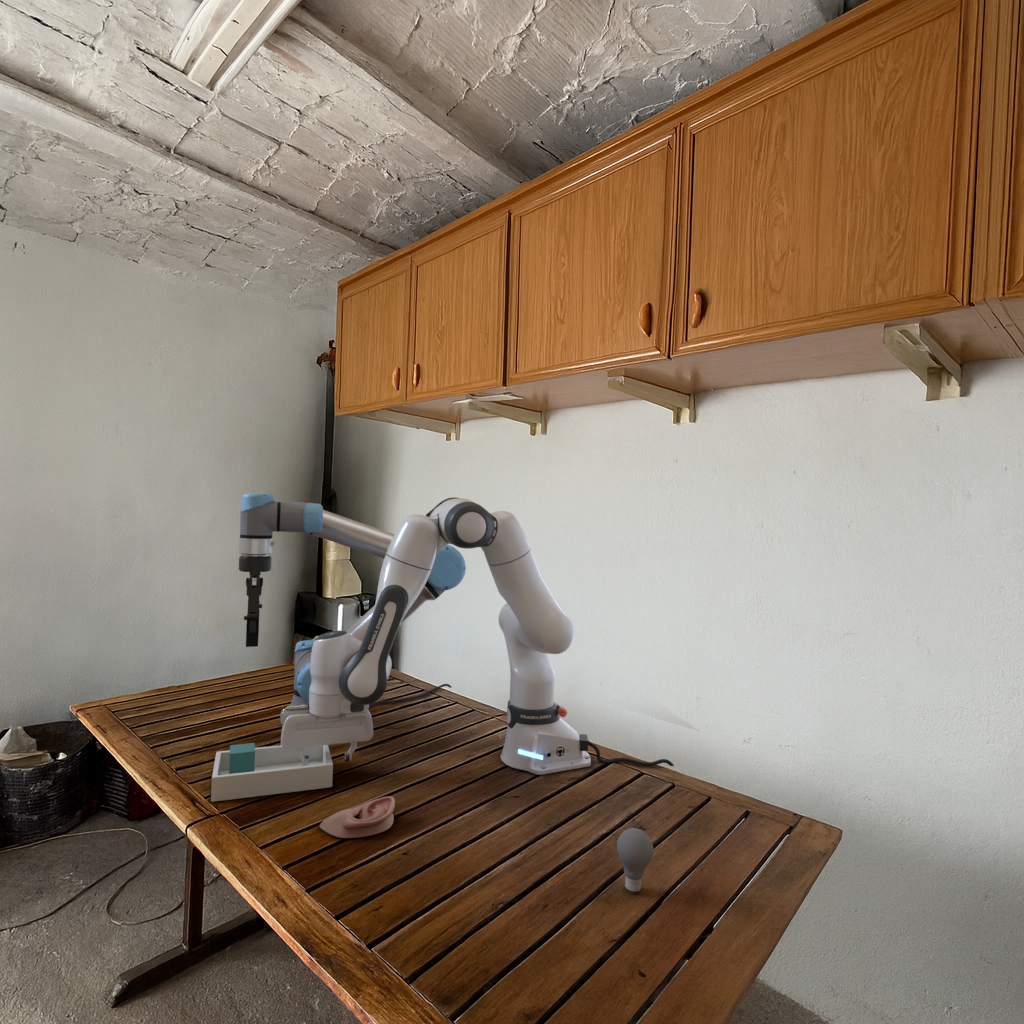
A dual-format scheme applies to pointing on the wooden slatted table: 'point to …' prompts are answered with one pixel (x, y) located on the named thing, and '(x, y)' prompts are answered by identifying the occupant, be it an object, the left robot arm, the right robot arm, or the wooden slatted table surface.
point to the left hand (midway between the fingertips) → (252, 640)
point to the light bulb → (634, 856)
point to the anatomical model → (361, 819)
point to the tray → (272, 773)
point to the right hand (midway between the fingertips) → (326, 762)
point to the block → (242, 758)
